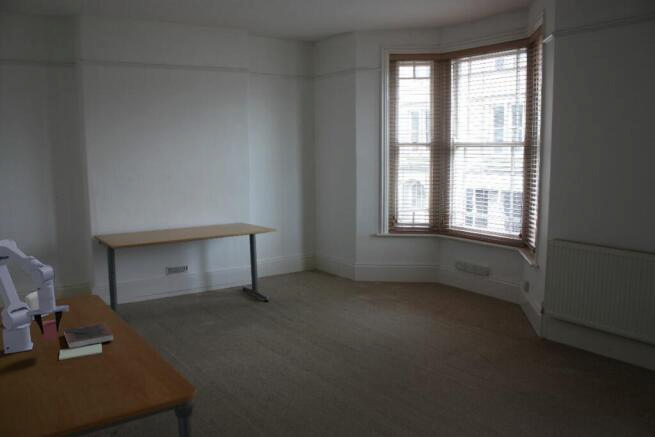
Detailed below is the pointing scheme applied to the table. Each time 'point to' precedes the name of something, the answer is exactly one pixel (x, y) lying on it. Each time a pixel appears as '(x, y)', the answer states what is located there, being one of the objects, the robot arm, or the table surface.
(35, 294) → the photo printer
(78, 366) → the table surface
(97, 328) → the picture frame
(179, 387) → the table surface
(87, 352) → the sage mat
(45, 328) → the card box
